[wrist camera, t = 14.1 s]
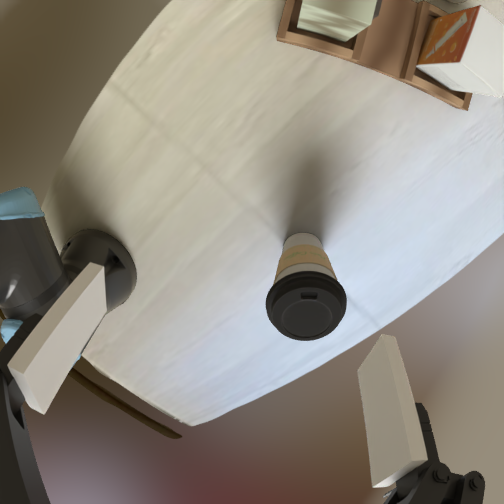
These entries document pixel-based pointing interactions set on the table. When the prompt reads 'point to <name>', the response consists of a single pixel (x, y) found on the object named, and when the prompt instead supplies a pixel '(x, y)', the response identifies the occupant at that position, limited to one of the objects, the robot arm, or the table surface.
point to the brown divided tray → (369, 37)
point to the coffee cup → (305, 291)
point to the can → (457, 1)
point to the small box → (465, 52)
